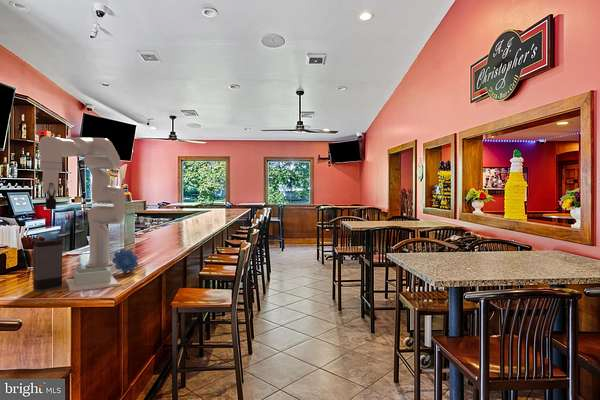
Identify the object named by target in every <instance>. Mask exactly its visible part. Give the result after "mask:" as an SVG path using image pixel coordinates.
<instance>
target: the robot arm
mask: <svg viewBox="0 0 600 400" xmlns="http://www.w3.org/2000/svg"><path fill="white" fill-rule="evenodd" d="M113 144H114V143H113V142H112V141H110V139H108V138H104V137H64V138H63V137H62V138H61V137H57V136H49V135H48V136H42V137H41V138H40V141H39V142H38V145H37V147H38V151H39V158H40V159H39V160H40V161H39V170H40V171H42V194H43V195H45V194H46V198H45V210H56V209H57V199H56V195H57V194H58V190H59V174H60V173H59V172H63V157H64V158H69V157H83V161H84V164H85V166H86V167H87V169H88V170H89V172H90V174H91V178H92V184H91V200H92V201H93V203H95V204H100V205H96V206H92V207H90V208H89V209H88V210H87V220H88V227H89V258H88V259H89V262H86V263H85V266H86V267H87V268H95V267H106V266H107V267H108V266H109V267H110V266H112V265H113V264H114V263H113V261H112V260H110V252H111V251H110V241H111V238H110V237H111V236H110V235H111V233H110V230H109V228H108V226H107V225H120V224H122V223H123V221H124V220H125V205H126V204H125V203H126V201H125V200H126V196H125V195H126V194H125V190H124V189H123V188H122V186H118V185H111V175H110V173H109V172H108V171H107V170H116V169H118V168H120V165H121V158H120V155H119V154H118V153H119V152H118V151H117V150H116V148H115V146H114V145H113ZM101 204H102V205H101ZM103 204H104V205H103ZM106 204H107V206H106ZM108 204H109V205H113V206H108Z"/></svg>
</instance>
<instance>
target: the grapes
mask: <svg viewBox="0 0 600 400" xmlns="http://www.w3.org/2000/svg"><path fill="white" fill-rule="evenodd" d="M113 255H114V257H112V260H111V261H112V262H113V264H115V265H114V266H115V269H116V270H121V272H122V273H125V274H126V273H128V272H132V273H133V272H134V271H135V268H137V267H138V266H139V263H138V259H139V258H138V256H137V255H136V254H134V252H133V250H132V249H128V250H127V249H125V248H121V249H119V251H115V252H114V254H113Z"/></svg>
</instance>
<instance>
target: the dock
mask: <svg viewBox="0 0 600 400" xmlns="http://www.w3.org/2000/svg"><path fill="white" fill-rule="evenodd" d="M111 273H112V271H111V269H110V268H109V267H108V266H104V267H87V268H86V267H85V268H76V269H73V278H68V279H67V278H66V280H65V281H66V284H67V287H68V290H69V292H76V291H77V292H78V291H85V290H93V289H102V288H103V289H104V288H111V287H117V286H118V287H119V285H120V283H119V282H118V281H117V279H115V277H114V276H113V275H112V274H111Z"/></svg>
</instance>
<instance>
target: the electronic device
mask: <svg viewBox="0 0 600 400" xmlns="http://www.w3.org/2000/svg"><path fill="white" fill-rule="evenodd" d="M32 254H33V255H32V257H33V258H32V259H33V263H32V264H33V267H32V268H33V271H32V272H33V273H32V274H33V275H32V277H33V282H32V284H33V287H32V288H33V291H36V292H39V293H40V292H45V291H50V290H51V291H52V290H57V289H61V288H63V240H62V239H59V238H53V239H52V238H51V239H50V240H40V239H39V240H34V241H33V253H32Z"/></svg>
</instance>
